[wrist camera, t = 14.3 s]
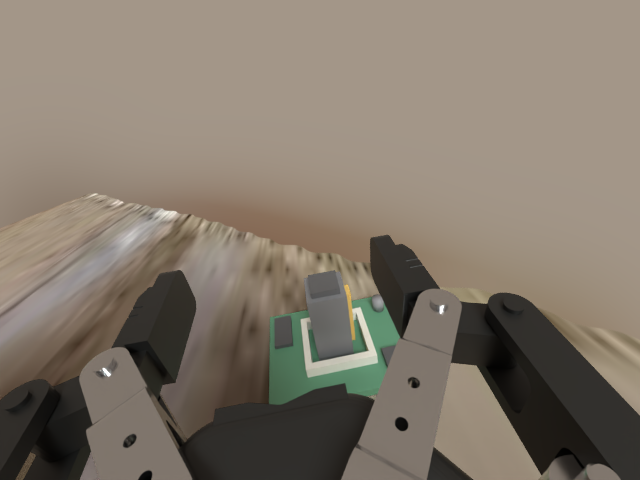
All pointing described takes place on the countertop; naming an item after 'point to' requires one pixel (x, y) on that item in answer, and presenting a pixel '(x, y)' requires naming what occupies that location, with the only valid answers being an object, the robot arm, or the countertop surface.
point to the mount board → (354, 370)
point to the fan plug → (330, 314)
